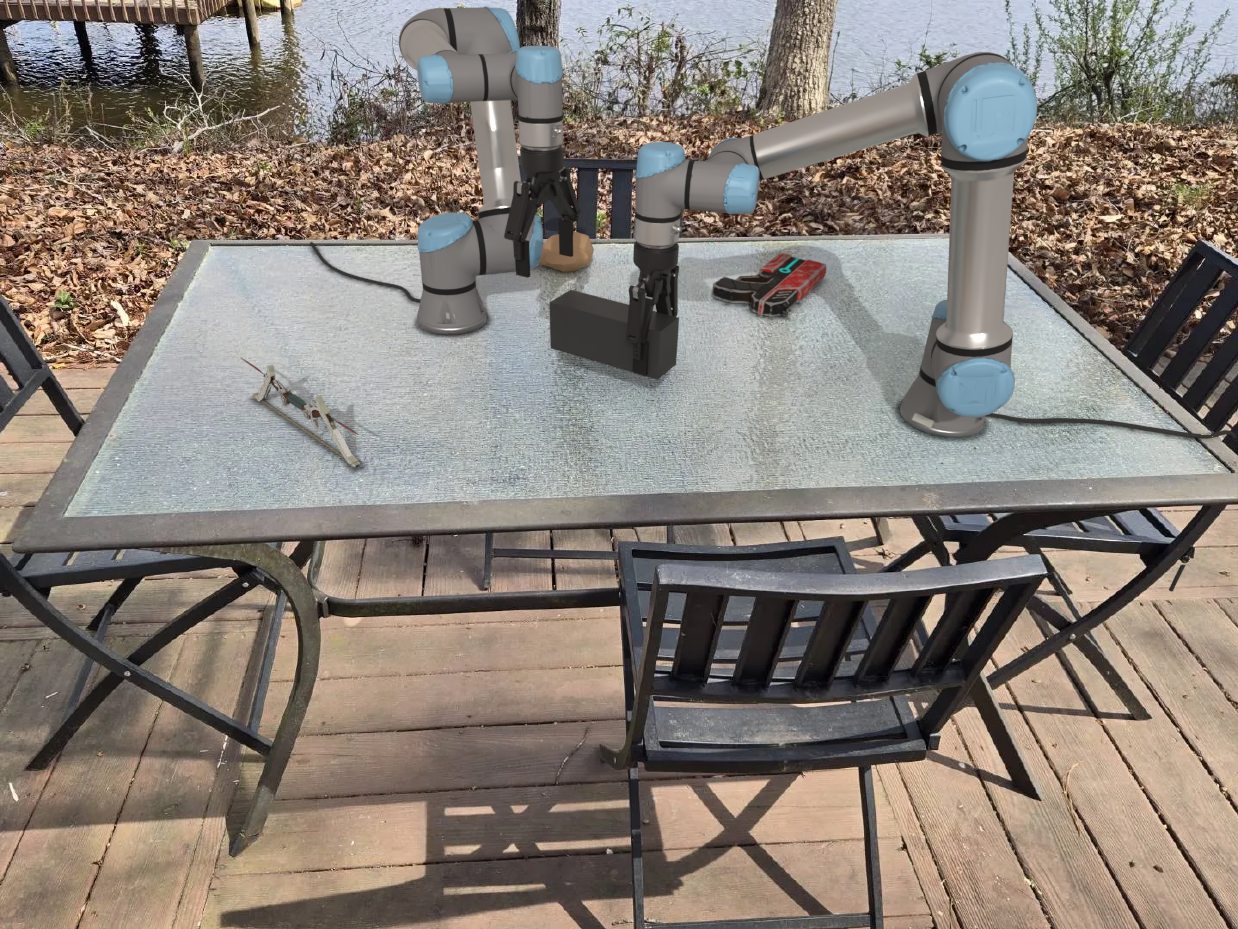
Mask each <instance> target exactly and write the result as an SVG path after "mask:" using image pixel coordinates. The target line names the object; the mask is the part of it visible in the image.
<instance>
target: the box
mask: <svg viewBox="0 0 1238 929" xmlns="http://www.w3.org/2000/svg"><path fill="white" fill-rule="evenodd" d="M628 311H629V303H624V302H620V301H616V300H613V299H609V298H605V297H601V296H597V295H593V294H589V293H585V292H581V291H577V290H575V289H569V290H568V291H566V292H564V293H563V294H561V295H559V296H557V297H556V298H554V299H552V300H551V301H549V337H550V338H549V339H550V340H549V342H550V349H551V350H555V351H558V352H561V353H564V354H568V355H570V356H575V357H579V358H581V359H585V360H588V361H591V362H595V363H598V364H602V365H605V366H607V367H612V368H615V369H618V370H622V371H626V372H629V373H632V369H633V343H632V342H629V341H626V333H627V322H628ZM679 326H680V317H679V316H676V317H675V316H671V315H667V314H663V313H659V312H657V311H655V310H653V312H652V317H651V322H650V326H649V331H648V336H647V340H646V341H649V356H648V375H647V376H646V377H645V378H649V379H653V380H656V381H658V380H659V379H661V378H662V377H663V376H664V375H665V374H667V373H668V372H669V371H670V370H672V369H673V368H674V367H675V366H677V360H678V358H677V357H678V343H679V328H680V327H679Z"/></svg>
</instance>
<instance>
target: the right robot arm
mask: <svg viewBox="0 0 1238 929" xmlns="http://www.w3.org/2000/svg"><path fill="white" fill-rule="evenodd" d="M1037 113H1038V100H1037V94H1036V91H1035V89H1034V86H1033V84H1032V82H1031V81H1030V79H1029V77H1028V76H1027V75H1026V74H1025V73H1024V72H1023V71H1022V70H1020V69H1019V68H1017V67H1015V65H1014V64H1013V63H1012V62H1011V61H1010V60H1009V59H1008V58H1006V57H1005V56H1003V55H1001V54H999V53H995V52H991V51H979V52H978V51H977V52H973V53H968V54H966V55H963V56H961V57H958V58H955V59H952V60H950V61H947V62H944V63H942V64H939V65H936V66H934V67H932V68H929V69H925V70H922V71H919V72H917V73H915V74H913V76H912V77H911V79H910V80H909V82H908V83H905V84H903V85H899V86H896V87H893V88H890V89H887V90H884V91H881V92H878V93H874V94H872V95H869V96H866V97H863V98H859V99H857V100H854V101H851V102H847V103H844V104H841V105H839V106H835V107H832V108H829V109H827V110H823V111H820V112H817V113H814V114H811V115H808V116H805V117H802V118H799V119H796V120H793V121H790V122H786V123H784V124H781V125H778V126H774V127H771V128H768V129H766V130H763V131H760V132H757V133H754V134H752V135H747V136H745V137H741V138H739V137H727V138H725V139H723V140H721V141H720V142H718V143H717V144H716V145H715V146H713V148H712V149H711V151H710V153H709V156H708V158H707V161H706V160H705V161H704V160H694V159H693V160H692V159H687V158H686V155H685V153H686V152H685V148H684V147H683V146H682V145H680V144H678V143H672V142H668V141H654V142H648V143H645V144H643V145H642V146H640V148H639V149H638V151H637V159H636V170H635V171H636V172H635V174H634V179H635V198H634V199H635V201H634V203H635V204H634V223H633V224H634V228H633V239H634V240H635V241H634V243H633V255H632V256H633V257H632V260H633V263H634V265H635V266H636V267H637V268H638V269H639V276H638V280H637V282H638V283H637V284H636V285H629V287H628V296H629V297H628V298H629V300H628V305H629V311H628V322H627V333H626V341H629V342H632V343H633V369H632V372H631V374H636V375H639V376H642V377H645V378H647V377H646V376H647V375H648V356H649V341H646V340H647V336H648V331H649V326H650V322H651V317H652V312H653V311H654V308H655V310H656V311H655V312H659V313H663V314H667V315H671V316H675V317H678V315H679V314H678V313H679V306H678V305H679V300H678V299H679V298H678V297H679V296H678V295H679V292H678V291H679V286H678V285H679V282H678V281H679V279H678V278H679V272H680V265H678V264H679V251H680V245H679V243H678V242H679V240H680V233H681V232H682V227H681V217H682V212H681V211H682V210H688V211H689V210H690V211H701V212H711V213H721V214H728V215H750V214H752V213H753V212H754V211H755V209H756V207H757V200H758V193H759V185H760V182H762V181H765V180H767V179H770V178H773V177H777V176H780V175H784V174H786V173H791V172H793V171H796V170H800V169H803V168H806V167H809V166H810V167H811V166H813V165H816V164H819V163H823V162H826V161H829V160H833V159H835V158H838V157H843V156H845V155H846V156H847V155H850V154H853V153H856V152H859V151H861V150H865V149H868V148H871V147H875V146H879V145H881V144H885V143H889V142H891V141H895V140H898V139H902V138H905V137H907V136H911V135H915V134H920V135H922V136H923V137H926V138H928V137H930V136H934V135H936V134H941V149H940V150H941V151H940V152H941V153H940V154H941V156H940V157H941V158H940V167H941V168H942V169H943V170H944V171H946V173H948V174H949V176H950V177H951V179H950V182H951V183H950V203H949V204H950V208H949V209H950V210H949V213H950V214H949V236H948V242H949V243H948V263H947V264H948V268H947V293H946V294H947V295H946V299H943V300H941V301H939V302H938V303H937V304H936V305H935V308H934V310H933V313H932V315H931V317H930V318H931V322H930V326H929V330H928V333H927V338H926V342H925V347H924V351H923V355H922V359H921V363H920V367H919V372H918V374H917V376H916V378H915V379H914V380H913V383H912V384H911V386H910V387H909V389H908V390H907V392H906V393H905V394H904V396H903V398H902V401H901V405H900V407H899V413H900V415H901V418H902V419H903V420H904V421H905V422H906V423H908V425H910V426H911V427H913V428H915V429H916V430H918V431H921V432H923V433H926V434H928V435H932V436H937V437H941V438H949V439H950V438H952V439H961V438H969V437H972V436H975V435H977V434H979V433H980V432H981V431H982V430H983V427H984V425H985V421H986V418H987V417H988V418H994V419H1001V420H1005V421H1010V422H1016V423H1023V424H1024V423H1025V424H1048V423H1049V424H1050V423H1051V424H1052V423H1067V424H1068V423H1069V424H1070V423H1071V424H1092V425H1093V424H1094V425H1106V426H1113V427H1114V426H1115V427H1121V428H1128V429H1134V430H1139V431H1145V432H1152V433H1159V434H1165V435H1171V436H1177V437H1185V438H1193V439H1203V440H1204V439H1207V440H1208V439H1214V438H1218V437H1221V436H1224V435H1226V436H1229V437H1230V438H1231V439H1237V435H1236V434H1235V433H1234V432H1233V431H1232V430H1228V429H1223V430H1219V431H1216V432H1212V433H1210V434H1211V435H1201V434H1202V433H1194V432H1192V433H1193V434H1190V433H1191V432H1186V431H1181V430H1179V431H1178V430H1172V429H1167V428H1160V427H1154V426H1147V425H1141V424H1136V423H1129V422H1122V421H1117V420H1108V419H1097V418H1096V419H1094V418H1080V417H1079V418H1078V417H1077V418H1075V417H1074V418H1073V417H1047V418H1046V417H1045V418H1027V417H1026V418H1025V417H1017V416H1011V415H1006V414H1001V413H996V412H997V411H998V410H999V409H1001V408H1003V407H1004V406H1005V405H1006V404H1007V403H1008V402H1009V401H1010V399H1011V398H1012V397H1013V395H1014V391H1015V385H1016V384H1015V382H1016V377H1015V373H1014V371H1013V370H1012V350H1013V337H1014V331H1013V328H1012V327H1011V325H1009V324H1008V323H1007V322H1006V321H1004V318H1005V307H1006V306H1005V305H1006V292H1007V291H1006V290H1007V279H1008V278H1007V277H1008V276H1007V275H1008V266H1009V265H1008V263H1009V248H1010V235H1011V234H1010V233H1011V223H1012V222H1011V221H1012V208H1013V207H1012V206H1013V194H1014V193H1013V192H1014V178H1015V172H1016V171H1017V170H1018V169H1019V168H1020V167H1021V166H1022V165H1023V164H1024V163H1026V161H1027V158H1028V157H1027V156H1028V146H1029V144H1028V143H1029V136H1030V134H1031V133H1032V130H1033V129H1034V126H1035V124H1036V120H1037V115H1038V114H1037ZM1212 436H1213V437H1212ZM1186 565H1187V564H1180V566H1179V567H1178V569H1177V571H1176V573H1175V575H1174V577H1173V579H1172V581H1171V584H1170V586H1169V588H1168V591H1169V592H1171V593H1173V592H1174V590H1175V588H1176V586H1177V584H1178V583H1179V582H1178V581H1179V580H1180V578H1181V576H1182V573H1183V571H1184V570H1185V568H1186Z"/></svg>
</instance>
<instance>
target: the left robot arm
mask: <svg viewBox="0 0 1238 929" xmlns="http://www.w3.org/2000/svg"><path fill="white" fill-rule="evenodd" d="M398 47H399V52H400V55H401V57H402V58H403V59H404V61H405V62H406V64H407V65H409V67H410V68H412V69H414V70H415V71H416V73H417V83H418V89H419V94H420V97H421V99H422V101H424V102H425V103H427V104H440V105H446V104H453V103H454V104H455V103H457V104H458V103H469V104H470V110H471V111H470V112H471V117H472V125H473V133H474V140H475V148H476V154H477V156H476V157H477V162H478V171H479V178H480V185H481V192H482V197H483V198H482V199H483V204H482V206H481V207H480V208H479V209H478V211H477V215H478V219H476V220H473V218H472V217H471V216H470V215H469V214H468V213H465V212H457V211H452V212H446V213H445V212H444V213H439V214H437V215H433V216H431V217H429V218H427V219H426V220H423V221H422V222H421V223H420V224H419V226H418V227H417V247H416V248H417V251H418V255H419V263H420V275H421V276H420V277H421V284H422V292H421V297H420V298H417V297H414V296H412V295H411V294H410V292H409V291H408V290H407V289H406V288H405V287H403V286H402V285H398V284H395V283H390V282H385V281H379V280H375V279H371V278H367V277H362V276H358V275H355V274H352V273H349V272H346V271H343V270H341V269H339V268H337V267H335V266H333V265H332V264H330V262H328V261H327V260H325V258H324V257H323V256H322V254H321V252H320V251H319V250H318V249H317V247H316V246H315V244H314V242H313V241H310V242H309V244H310V246H311V247H312V249H313V251H314V253H316V255H317V257H318V258H319V260H320V261H321V262H322V263H323V264H324V265H325V266H326V267H328V268H329V269H330V270H332V271H333V272H336V273H338V274H340V275H343V276H346V277H348V278H352V279H355V280H358V281H361V282H366V283H370V284H375V285H380V286H382V287H383V286H384V287H390V288H394V289H398V290H400V291H402V292H403V293H404V294H405V295H406V297H407V298H408V299H409V300H410V301H412V302H415V303H419V305H418V310H417V315H416V318H417V325H418V326H419V328H420V329H421V330H423V331H424V332H427V333H430V334H433V335H440V336H459V335H465V334H469V333H473V332H476V331H477V330H480V329H481V328H483V327H484V326H485V325H486V323H487V320H488V316H487V310H486V306H485V304H484V302H483V299H482V298H481V295H480V293H479V291H478V288H477V278H476V277H479V276H489V275H499V274H509V273H515V275H516V276H519V277H524V278H527V279H528V278H531V271H532V270H534V269H536V268H537V267H538V266H539V265H538V264H539V262H540V259H541V255H542V248H543V243H544V229H543V224H542V219H541V217H540V216H539V215H537V212H538V209H539V208H541V207H542V205H543V204H544V203H546V202H547V201H550V202H551V203H552V205H553V206H554V208H555V210H556V211H557V213H558V214H559V216H560V218H561V219H559V220H558V234H559V254H560V255H564V256H569V257H572V256H573V231H574V222H578V221H579V219H580V214H581V211H582V209H581V206H580V203H579V201H578V198H577V197H578V196H577V194H576V191H575V188H574V185H573V182H572V177H571V176H572V175H571V169H570V168H569V167H565V159H564V158H565V157H564V156H565V154H564V153H565V152H564V150H565V149H564V148H563V146H561V145H563V144H564V127H563V126H564V123H563V121H564V117H563V116H564V114H563V113H564V109H563V108H564V107H563V102H564V101H563V75H564V69H563V62H562V53H561V51H560V50H559V49H558V48H557V47H555V46H548V45H525V46H521V45H520V40H519V35H518V31H517V27H516V24H515V22H514V19H513V17H512V15H511V14H510V13H509V11H508V10H506V9H505V8H501V7H491V6H490V7H489V6H485V5H484V6H480V7H436V8H435V7H433V8H428V9H425V10H422V11H420V12H418V13H416V14H414V15H413V16H412V17H411V18H409V19H408V20H407V21H406V22H405V23H404V25H403V26H402V28H401V30H400V33H399V36H398ZM512 101H517V105H518V106H517V107H518V137H519V138H518V143H519V144H520V145H521V147H520V148H519V156H518V149H517V141H516V132H515V124H514V116H513V108H512ZM519 157H520V158H519ZM519 160H520V162H519ZM520 168H521V169H520ZM520 170H522V171H523V172H524V173H525V180H524V181H522V178H521V172H520Z"/></svg>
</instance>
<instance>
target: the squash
mask: <svg viewBox="0 0 1238 929" xmlns="http://www.w3.org/2000/svg"><path fill="white" fill-rule="evenodd" d="M594 251H595V249H594V246H593V243H592V241H591V239H590V236H589V235H587V234H584V233H581V232H578V231H575V230H573V256H572V257H569V256H564V255H560V254H559V233H557V234H553V235H551V236H549V238H547V239H546V240H545V241H544V242H543V248H542V255H541V259H540V262H539V264H538V266H546V267H550V268H552V269H554V270H556V271H559V272H561V273H564V272H565V273H566V272H567V273H569V272H577V271H578V270H579V271H580V270H581V269H583V268H585V267H586V266H589V265H590V263H591V262H592V258H593V254H594Z"/></svg>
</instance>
